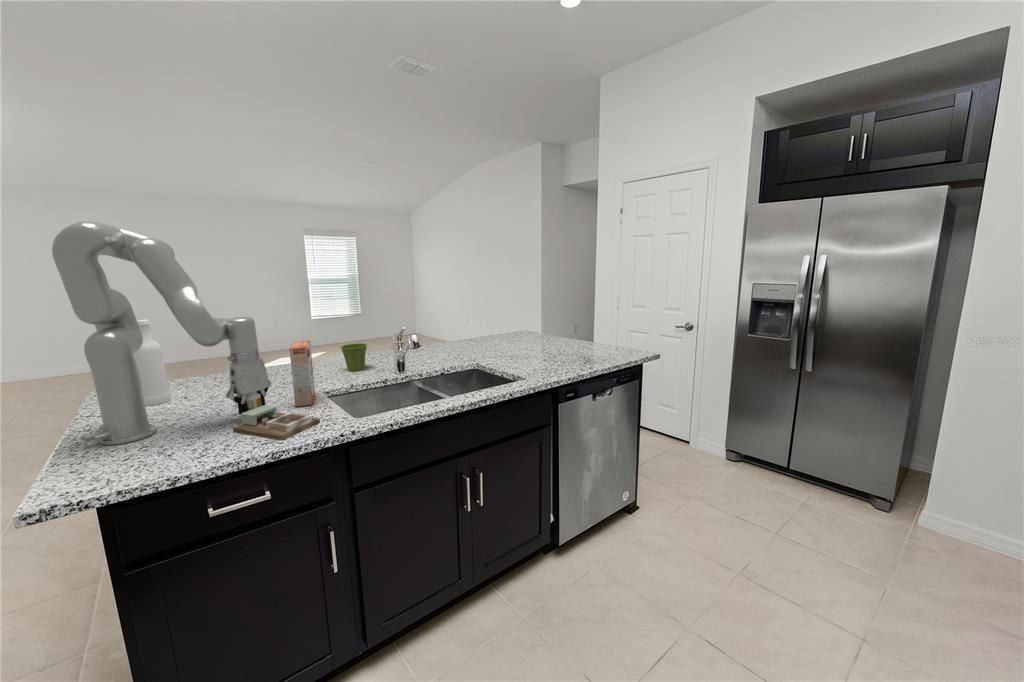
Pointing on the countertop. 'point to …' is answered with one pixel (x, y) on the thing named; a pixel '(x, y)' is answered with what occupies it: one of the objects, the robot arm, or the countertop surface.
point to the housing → (257, 414)
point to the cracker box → (302, 373)
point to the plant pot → (354, 356)
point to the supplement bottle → (253, 400)
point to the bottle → (151, 368)
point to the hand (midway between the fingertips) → (252, 411)
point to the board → (278, 425)
